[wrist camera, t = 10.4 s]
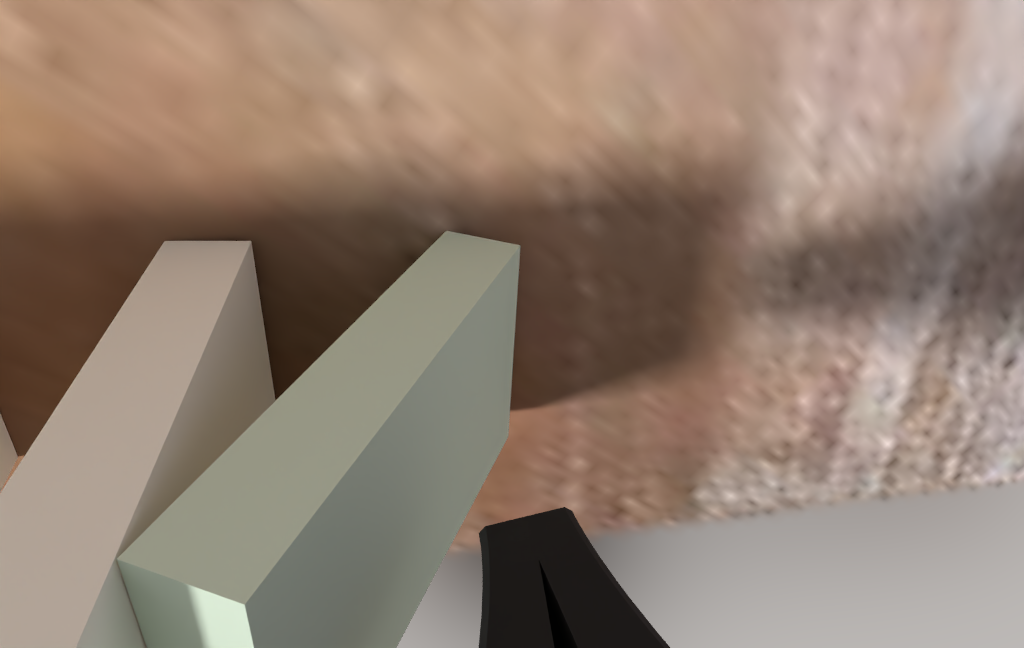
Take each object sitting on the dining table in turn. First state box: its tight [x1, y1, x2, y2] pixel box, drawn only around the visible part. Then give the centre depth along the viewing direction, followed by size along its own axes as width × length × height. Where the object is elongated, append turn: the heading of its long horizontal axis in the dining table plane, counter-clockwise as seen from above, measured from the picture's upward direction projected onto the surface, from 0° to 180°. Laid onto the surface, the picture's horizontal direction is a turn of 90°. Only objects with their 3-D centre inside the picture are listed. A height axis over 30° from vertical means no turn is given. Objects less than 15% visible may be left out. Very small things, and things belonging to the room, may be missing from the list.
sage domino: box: [117, 231, 520, 648], centre depth 13 cm, size 2×5×9 cm, turn 176°
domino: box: [0, 241, 275, 648], centre depth 12 cm, size 2×5×9 cm, turn 177°
